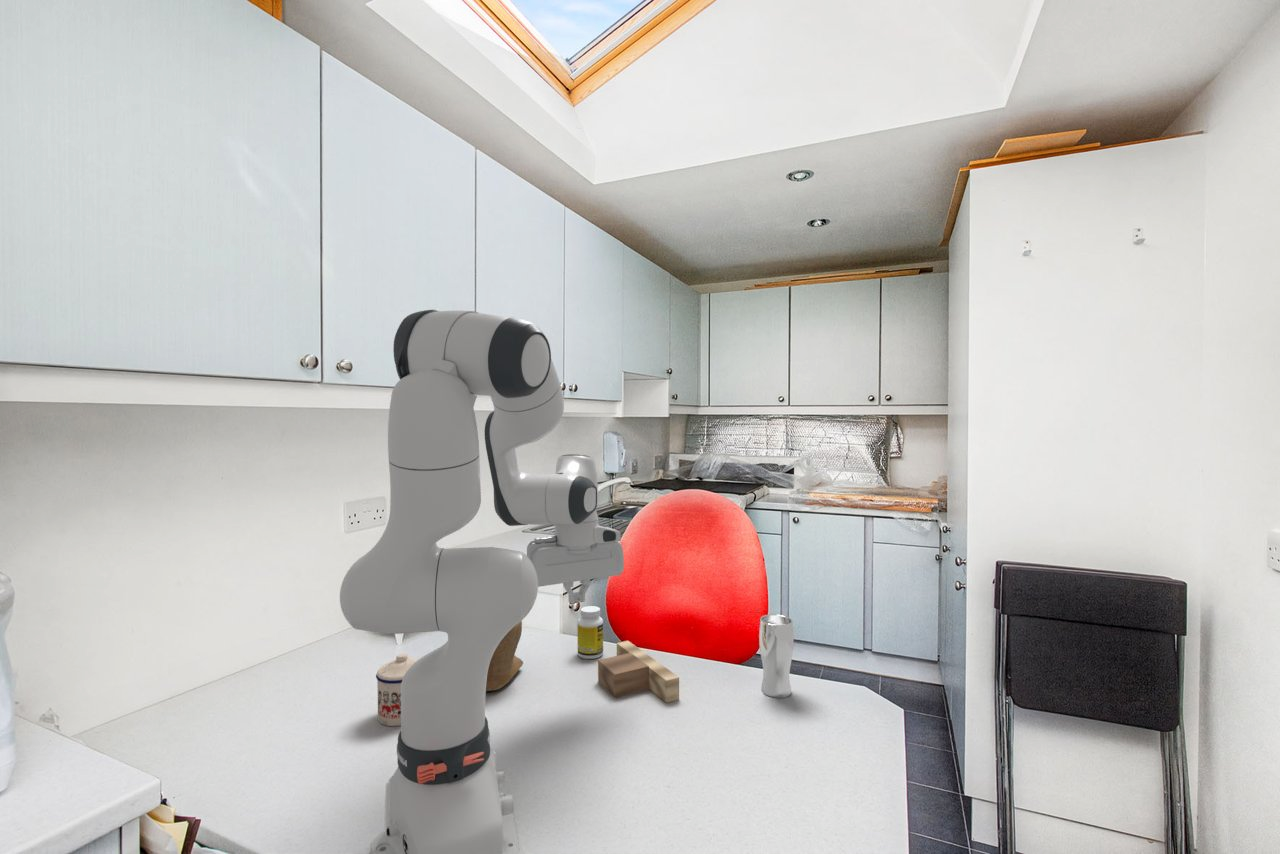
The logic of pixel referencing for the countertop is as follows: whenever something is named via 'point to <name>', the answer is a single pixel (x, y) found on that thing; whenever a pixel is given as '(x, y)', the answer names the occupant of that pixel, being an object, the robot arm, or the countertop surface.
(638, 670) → the block
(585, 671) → the countertop surface
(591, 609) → the pill bottle
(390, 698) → the teacup with lid
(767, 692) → the silver metal tumbler
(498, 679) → the stone cup
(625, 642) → the light wooden bar
